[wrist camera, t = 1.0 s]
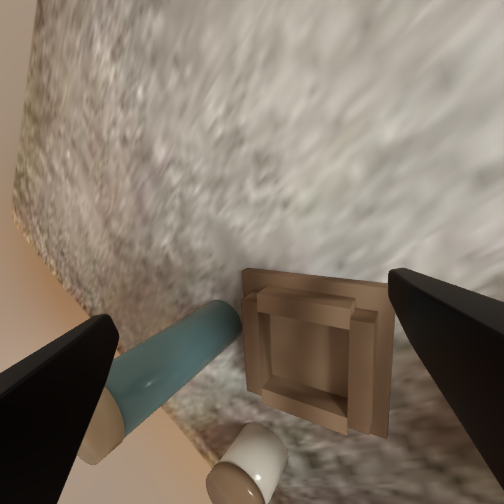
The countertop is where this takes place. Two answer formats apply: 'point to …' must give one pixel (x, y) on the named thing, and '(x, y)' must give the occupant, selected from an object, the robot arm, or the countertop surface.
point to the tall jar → (156, 374)
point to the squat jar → (248, 468)
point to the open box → (320, 348)
